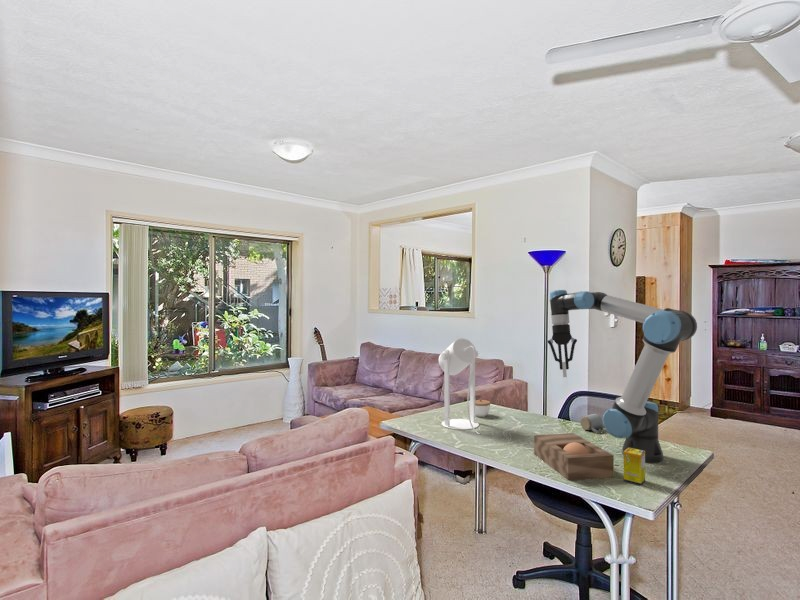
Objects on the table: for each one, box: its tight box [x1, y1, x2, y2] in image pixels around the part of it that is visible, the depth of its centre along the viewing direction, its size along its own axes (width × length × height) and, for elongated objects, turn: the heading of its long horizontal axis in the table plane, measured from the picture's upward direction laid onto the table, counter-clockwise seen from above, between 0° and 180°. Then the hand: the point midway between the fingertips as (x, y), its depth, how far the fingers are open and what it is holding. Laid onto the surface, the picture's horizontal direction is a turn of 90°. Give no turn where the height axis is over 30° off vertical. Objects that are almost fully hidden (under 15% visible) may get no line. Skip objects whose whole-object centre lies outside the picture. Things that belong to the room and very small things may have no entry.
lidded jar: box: [475, 398, 491, 418], centre depth 260 cm, size 11×11×9 cm
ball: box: [563, 442, 589, 455], centre depth 180 cm, size 10×10×10 cm
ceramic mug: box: [579, 413, 605, 434], centre depth 230 cm, size 11×8×8 cm
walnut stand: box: [533, 432, 615, 481], centre depth 184 cm, size 28×18×8 cm, turn 9°
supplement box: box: [622, 448, 646, 486], centre depth 168 cm, size 6×6×11 cm
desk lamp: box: [438, 337, 481, 435], centre depth 239 cm, size 21×32×45 cm, turn 28°
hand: (564, 376), depth 209 cm, fingers closed
